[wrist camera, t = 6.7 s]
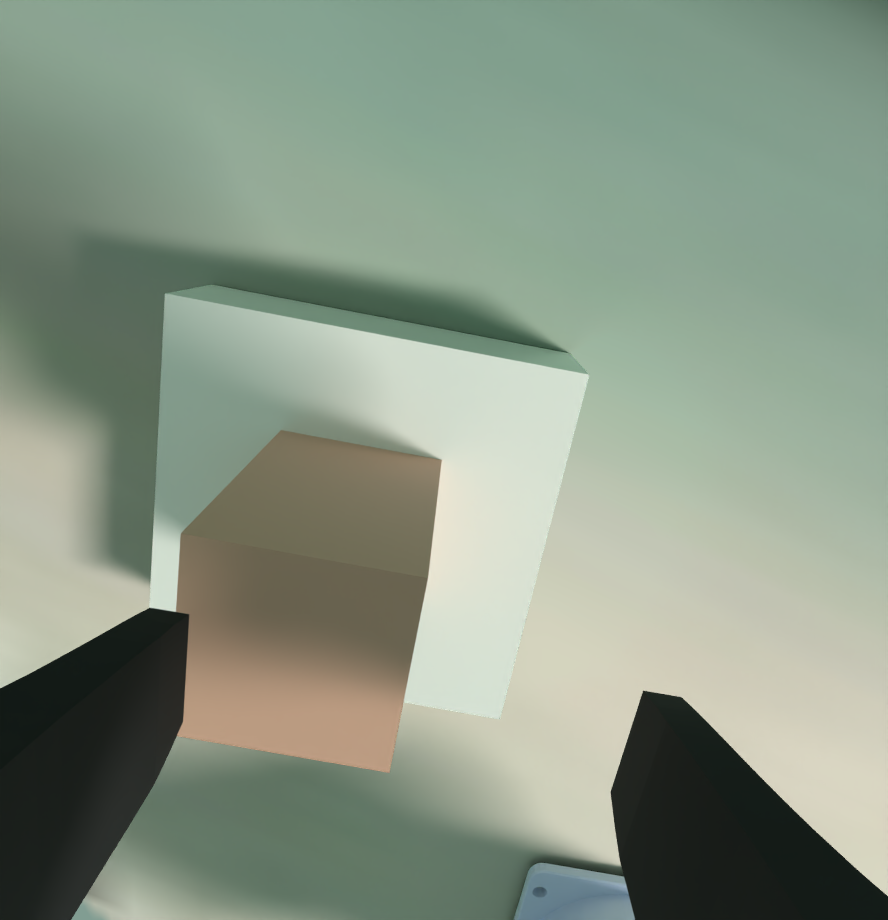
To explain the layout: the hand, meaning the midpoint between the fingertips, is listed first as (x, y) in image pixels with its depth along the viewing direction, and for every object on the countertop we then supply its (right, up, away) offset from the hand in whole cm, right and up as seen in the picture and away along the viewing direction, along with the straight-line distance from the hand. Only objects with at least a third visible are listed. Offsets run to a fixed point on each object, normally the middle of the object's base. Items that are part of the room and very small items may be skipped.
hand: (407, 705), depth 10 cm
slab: (-2, +3, +9) cm, 10 cm away
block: (-2, +2, +6) cm, 7 cm away
